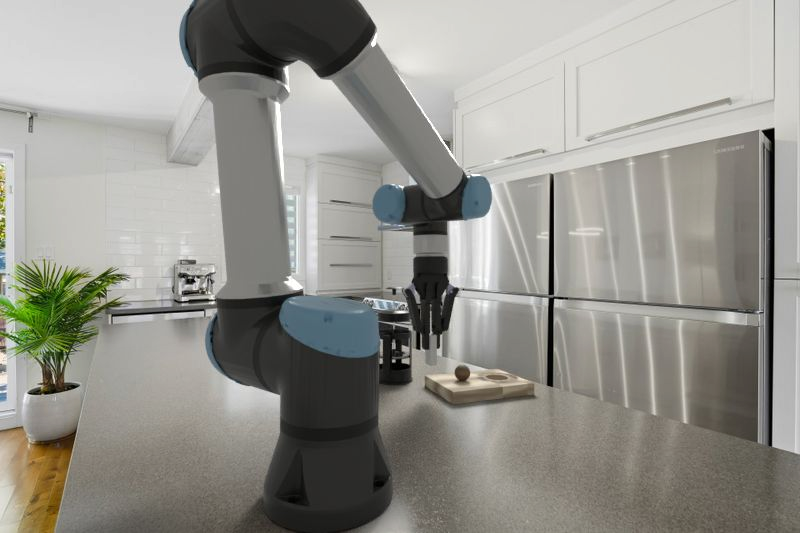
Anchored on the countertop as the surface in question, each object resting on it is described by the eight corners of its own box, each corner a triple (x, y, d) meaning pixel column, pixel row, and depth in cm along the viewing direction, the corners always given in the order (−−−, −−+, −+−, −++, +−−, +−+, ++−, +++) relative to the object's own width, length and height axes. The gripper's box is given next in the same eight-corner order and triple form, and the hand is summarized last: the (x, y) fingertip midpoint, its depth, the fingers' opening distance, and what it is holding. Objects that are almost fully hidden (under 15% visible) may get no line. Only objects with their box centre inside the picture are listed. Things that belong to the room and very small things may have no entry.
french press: (382, 373, 109) (382, 285, 109) (417, 375, 106) (417, 286, 106) (366, 385, 97) (367, 287, 98) (405, 388, 95) (405, 288, 95)
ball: (473, 381, 91) (473, 366, 91) (459, 383, 90) (459, 367, 90) (465, 378, 94) (465, 362, 94) (451, 379, 93) (451, 363, 93)
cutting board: (534, 394, 90) (534, 383, 91) (453, 404, 83) (453, 391, 83) (497, 378, 104) (497, 368, 104) (424, 386, 97) (424, 375, 97)
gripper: (449, 256, 95) (449, 358, 96) (396, 256, 91) (396, 363, 91) (465, 255, 88) (466, 365, 88) (409, 255, 84) (409, 371, 84)
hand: (431, 364), depth 90 cm, fingers closed
